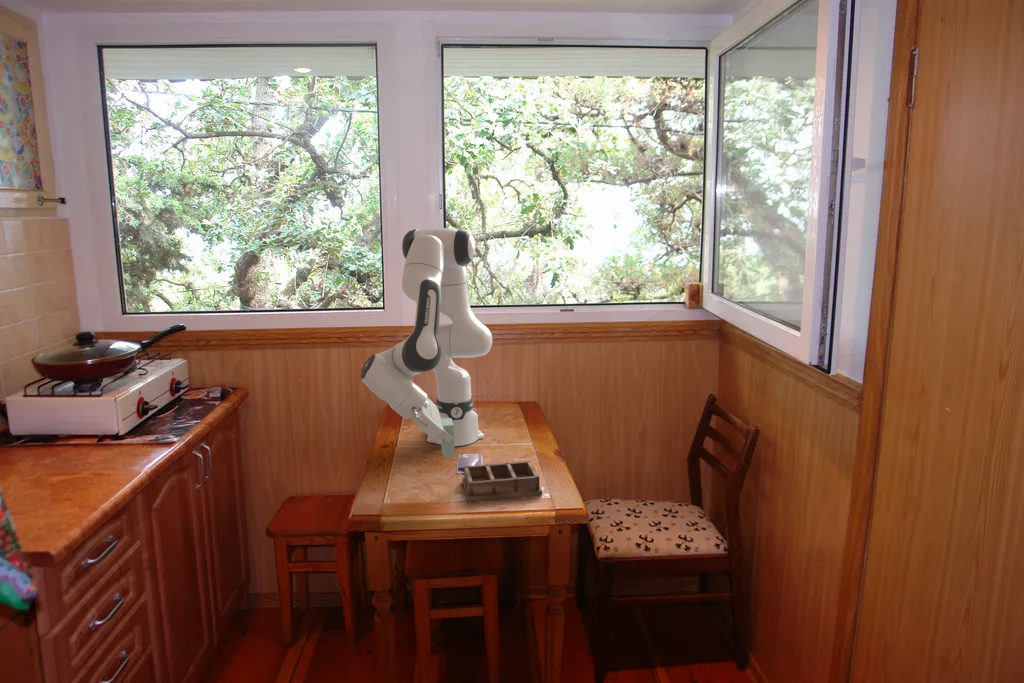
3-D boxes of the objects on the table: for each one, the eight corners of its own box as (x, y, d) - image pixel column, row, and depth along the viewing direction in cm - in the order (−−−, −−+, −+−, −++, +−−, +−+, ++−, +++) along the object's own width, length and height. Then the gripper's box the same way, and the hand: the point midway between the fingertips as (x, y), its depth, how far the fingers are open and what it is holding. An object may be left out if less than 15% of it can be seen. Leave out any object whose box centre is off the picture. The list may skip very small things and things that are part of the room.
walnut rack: (462, 481, 203) (461, 465, 202) (531, 475, 206) (531, 459, 205) (468, 502, 189) (468, 485, 188) (542, 495, 193) (542, 478, 192)
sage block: (441, 449, 197) (440, 418, 195) (452, 448, 198) (451, 417, 196) (443, 457, 192) (442, 425, 190) (454, 456, 192) (453, 425, 190)
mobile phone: (456, 472, 208) (457, 453, 223) (456, 475, 208) (458, 456, 223) (482, 471, 209) (482, 452, 223) (482, 474, 209) (482, 455, 223)
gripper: (422, 406, 180) (462, 439, 184) (417, 384, 199) (454, 415, 203) (405, 424, 180) (445, 457, 184) (402, 400, 200) (438, 431, 203)
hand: (449, 435), depth 194 cm, fingers closed on sage block, 6 cm apart
